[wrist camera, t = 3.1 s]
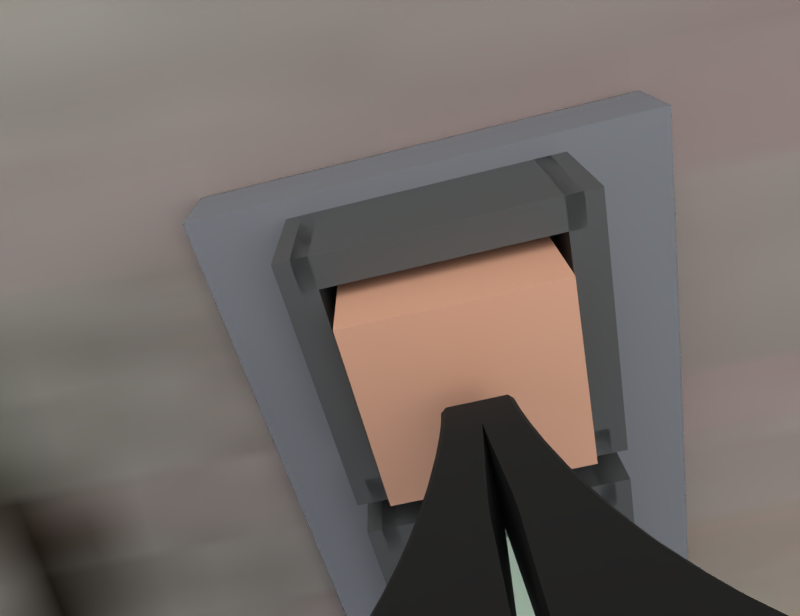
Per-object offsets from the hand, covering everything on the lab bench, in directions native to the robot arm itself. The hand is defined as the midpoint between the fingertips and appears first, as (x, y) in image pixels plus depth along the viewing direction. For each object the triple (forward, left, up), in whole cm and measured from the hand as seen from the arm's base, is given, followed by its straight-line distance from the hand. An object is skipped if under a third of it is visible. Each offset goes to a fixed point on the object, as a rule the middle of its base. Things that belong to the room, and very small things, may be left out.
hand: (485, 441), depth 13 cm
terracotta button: (0, 0, -4) cm, 4 cm away
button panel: (-6, -5, -7) cm, 11 cm away
